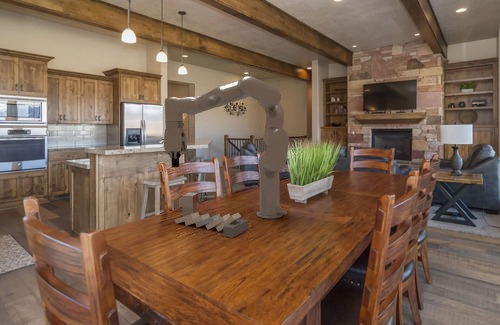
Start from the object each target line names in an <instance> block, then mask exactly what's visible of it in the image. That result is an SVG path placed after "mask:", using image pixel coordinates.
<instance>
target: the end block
mask: <svg viewBox="0 0 500 325" xmlns="http://www.w3.org/2000/svg"><path fill="white" fill-rule="evenodd" d="M248 230H249V220H248V219H243V218H239V219H237V220H236V221H234V222H232V223H230V224H228V225H226V226H224V229H223V237H224V238H230V239H233V238H235V237H237V236H239V235H240V234H243V233H245V232H246V231H248Z"/></svg>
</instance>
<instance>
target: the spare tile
mask: <svg viewBox="0 0 500 325" xmlns="http://www.w3.org/2000/svg"><path fill="white" fill-rule="evenodd" d="M220 217H221V214H220V213H218V214H215V215H213V216H210V218H207V219H205V220H202V221H199V222H196V223H194V224H195V226H196V228H200V227H202V226H206V225H207V224H209V223H211V222H213V221H215V220H217V219H218V218H220Z"/></svg>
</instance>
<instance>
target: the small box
mask: <svg viewBox="0 0 500 325" xmlns="http://www.w3.org/2000/svg"><path fill="white" fill-rule="evenodd" d="M181 197H182V198H181V199H182V200H181V202H182V203H181V204H182V205H181V206H182V217H184V216H187V215H190V214H193V213H196V212H199V213H200V198H199V197H200V196H199V192H187V193H185V194H183V195H181Z"/></svg>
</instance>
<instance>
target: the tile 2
mask: <svg viewBox="0 0 500 325" xmlns="http://www.w3.org/2000/svg"><path fill="white" fill-rule="evenodd" d="M210 217H211V216H210V213H209V212H207V213H205V214H202V215H200V216H198V217H196V218H193V219H190V220H187V221H184V224H185V226H189V225H193V224H195V223H197V222H200V221H202V220H205V219H207V218H210Z"/></svg>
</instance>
